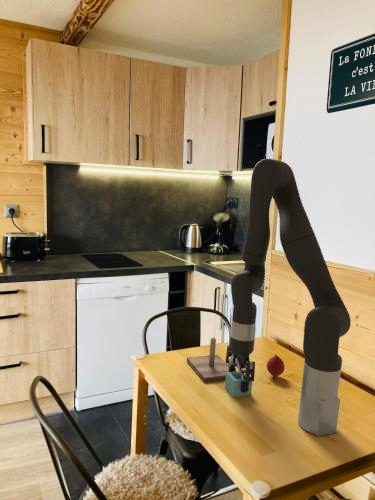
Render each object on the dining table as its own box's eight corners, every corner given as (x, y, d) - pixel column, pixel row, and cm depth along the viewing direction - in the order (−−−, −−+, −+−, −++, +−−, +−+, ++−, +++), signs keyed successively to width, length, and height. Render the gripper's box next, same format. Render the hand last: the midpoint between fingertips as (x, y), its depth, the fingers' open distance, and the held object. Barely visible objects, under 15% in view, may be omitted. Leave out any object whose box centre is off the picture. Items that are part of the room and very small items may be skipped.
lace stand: (237, 378, 134) (240, 345, 132) (204, 382, 129) (206, 348, 128) (217, 358, 148) (219, 328, 147) (186, 361, 144) (188, 330, 142)
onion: (282, 373, 139) (284, 351, 138) (284, 381, 133) (286, 358, 132) (265, 372, 139) (267, 350, 138) (266, 379, 134) (268, 356, 133)
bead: (251, 394, 123) (252, 379, 122) (233, 397, 121) (234, 381, 120) (241, 385, 129) (243, 370, 128) (224, 387, 127) (226, 372, 126)
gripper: (265, 343, 117) (260, 395, 120) (242, 326, 130) (237, 373, 133) (242, 345, 114) (237, 398, 117) (221, 327, 128) (217, 376, 130)
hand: (237, 385), depth 125 cm, fingers open, 8 cm apart
